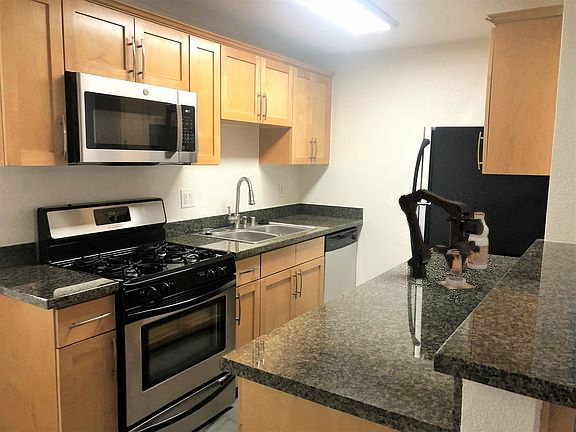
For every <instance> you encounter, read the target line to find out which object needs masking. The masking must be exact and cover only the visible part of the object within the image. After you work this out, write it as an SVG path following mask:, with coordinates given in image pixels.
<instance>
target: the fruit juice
mask: <svg viewBox="0 0 576 432" xmlns="http://www.w3.org/2000/svg"><path fill="white" fill-rule="evenodd" d="M473 216H474V219H478V218H480V219H482V223H483V226H484V231H483V233H482V235H473V234H469V237H468V240H467V241H475V244H476V245H478V246H479V247H480V253H473V252H472V251H471V253H472V255H469V256H468V257H467V259H468V262H466V263H467V268H469V269H472V270H486V269H488V260H489V259H488V257H489V238H488V235H489V232H490V231H489V227H488V226H487V224H486V222H485V212H479V211H477V212H473Z"/></svg>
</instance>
